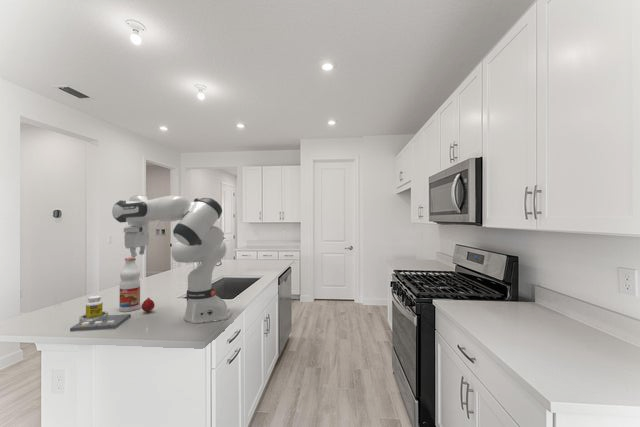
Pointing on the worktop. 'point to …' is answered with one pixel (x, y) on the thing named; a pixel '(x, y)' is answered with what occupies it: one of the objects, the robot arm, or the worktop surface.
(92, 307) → the pill bottle
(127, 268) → the fruit juice
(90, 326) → the plate
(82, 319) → the lockout collar
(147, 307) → the strawberry
